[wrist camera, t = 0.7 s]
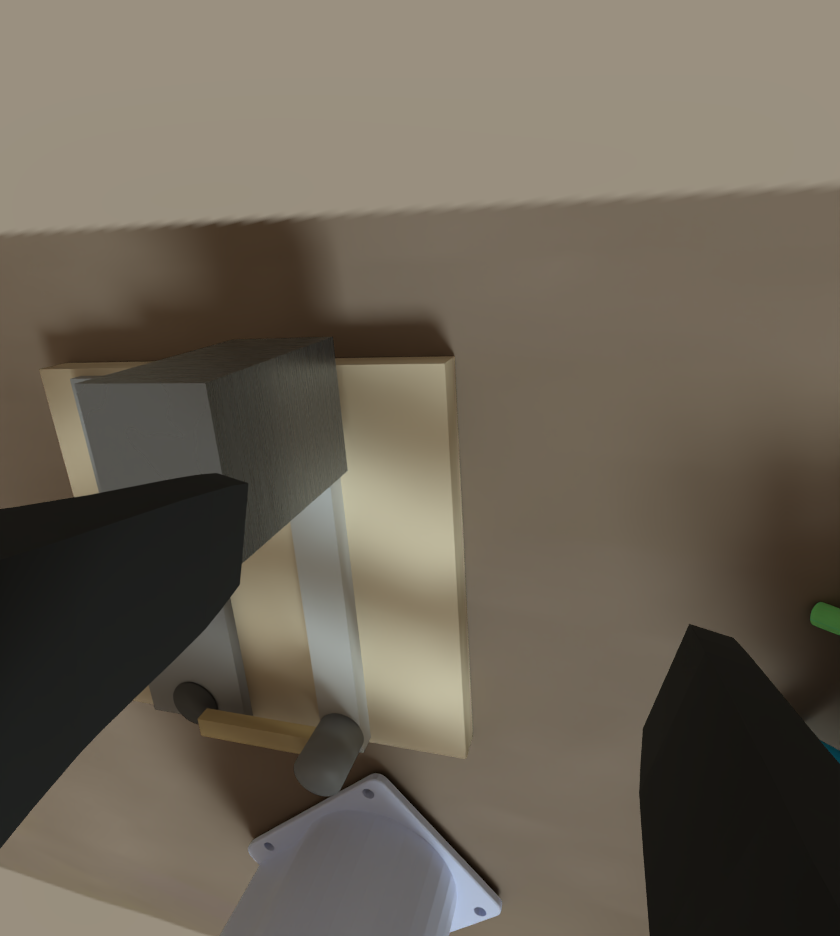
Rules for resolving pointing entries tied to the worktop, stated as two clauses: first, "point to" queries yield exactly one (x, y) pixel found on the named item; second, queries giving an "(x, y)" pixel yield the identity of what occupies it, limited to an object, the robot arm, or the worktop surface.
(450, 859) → the robot arm
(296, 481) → the grey rectangular block
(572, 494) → the worktop surface
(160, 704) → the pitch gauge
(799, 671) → the worktop surface
